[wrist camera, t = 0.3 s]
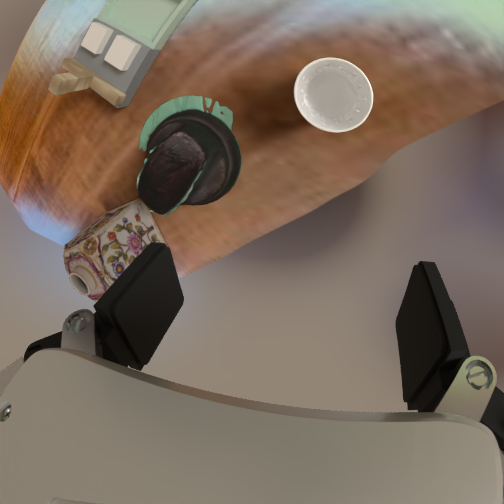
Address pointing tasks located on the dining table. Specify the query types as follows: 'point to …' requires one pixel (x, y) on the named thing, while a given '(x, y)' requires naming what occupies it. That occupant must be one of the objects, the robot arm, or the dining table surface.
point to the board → (119, 79)
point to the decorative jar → (109, 247)
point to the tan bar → (83, 82)
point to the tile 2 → (122, 52)
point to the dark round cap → (187, 155)
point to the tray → (146, 18)
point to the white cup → (333, 95)
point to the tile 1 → (96, 37)
